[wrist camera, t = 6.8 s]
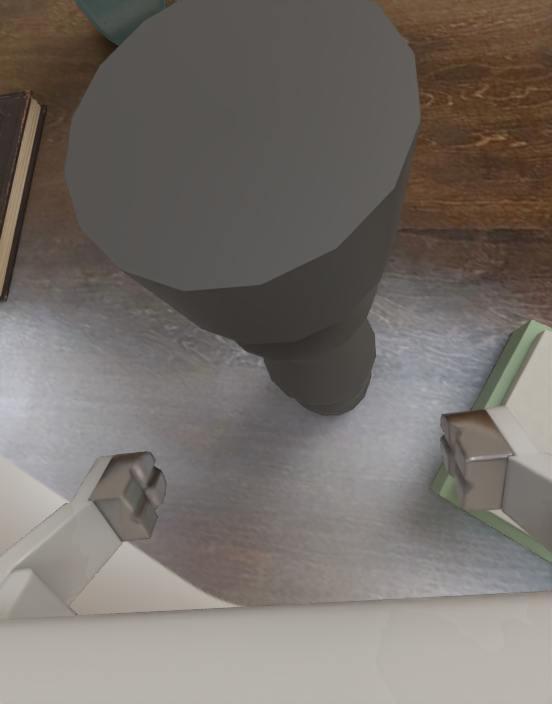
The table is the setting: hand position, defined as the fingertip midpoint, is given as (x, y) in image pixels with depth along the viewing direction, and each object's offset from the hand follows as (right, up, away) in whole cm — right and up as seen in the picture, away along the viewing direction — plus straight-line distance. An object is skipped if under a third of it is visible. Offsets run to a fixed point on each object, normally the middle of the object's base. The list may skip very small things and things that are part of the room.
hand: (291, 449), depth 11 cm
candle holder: (+4, +1, +19) cm, 20 cm away
